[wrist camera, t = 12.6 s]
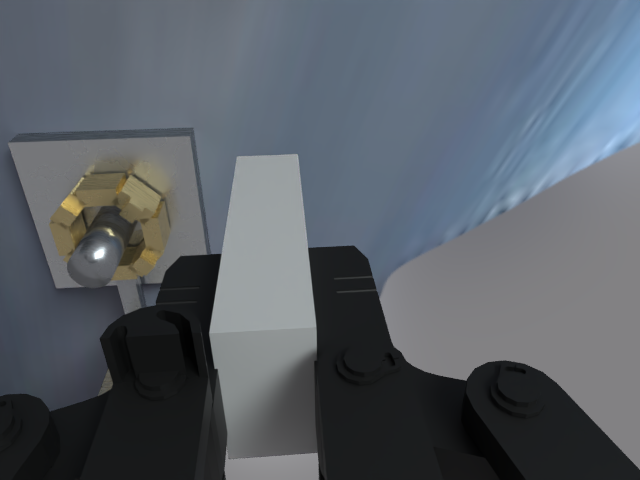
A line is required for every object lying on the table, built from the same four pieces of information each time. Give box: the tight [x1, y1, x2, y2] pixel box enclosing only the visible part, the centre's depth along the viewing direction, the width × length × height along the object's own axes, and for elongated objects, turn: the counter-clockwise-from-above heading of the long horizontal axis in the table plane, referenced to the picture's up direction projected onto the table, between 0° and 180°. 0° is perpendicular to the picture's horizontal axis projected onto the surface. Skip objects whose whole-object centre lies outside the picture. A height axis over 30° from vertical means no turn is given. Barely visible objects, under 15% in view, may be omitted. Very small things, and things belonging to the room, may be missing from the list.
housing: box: [8, 128, 211, 288], centre depth 42 cm, size 14×14×10 cm
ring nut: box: [49, 173, 170, 396], centre depth 42 cm, size 22×8×15 cm, turn 1°
